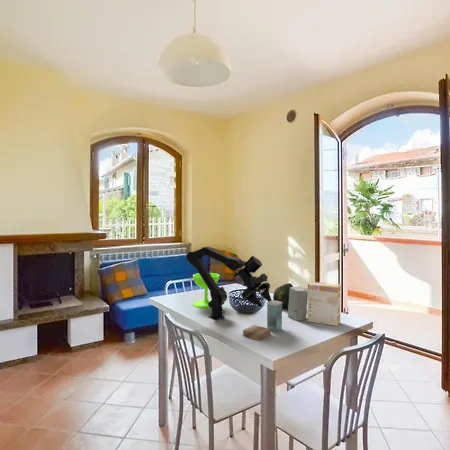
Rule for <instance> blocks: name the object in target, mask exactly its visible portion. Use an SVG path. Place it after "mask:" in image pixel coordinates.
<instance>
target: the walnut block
mask: <svg viewBox="0 0 450 450" xmlns="http://www.w3.org/2000/svg"><path fill="white" fill-rule="evenodd" d="M271 333H272V331H271V329H269V328H267V327H265V326H260V325H256V324H253V325H251V326H249V327H246V328H243V330H242V337H246V338H250V339H254V340H257V341H262V340H263V339H266V338H268V337H270V336H271V335H272V334H271Z"/></svg>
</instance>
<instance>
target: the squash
mask: <svg viewBox="0 0 450 450" xmlns="http://www.w3.org/2000/svg"><path fill="white" fill-rule="evenodd" d="M290 287H294V285H293V284H292V282H288V283H285V284H283V285H279V286H278V287H276V288H275V290H274V292H273V295H272V296H273V297H272V300H275V301H280V302H282V309H283V308H288V306H289V292H290Z"/></svg>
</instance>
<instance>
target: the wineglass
mask: <svg viewBox="0 0 450 450" xmlns="http://www.w3.org/2000/svg"><path fill="white" fill-rule="evenodd" d="M209 273H210V275H211V276H212V278H213V279H214V281H215V283H216V284H217V283H218V281H219V280H220V274H218V273H215V272H209ZM192 279H193V282H194V283H195V285H196V286H198V287H199V288H201V289H203V290H204V298H203V299H202V300H197V301H194V302H193V303H192V306H193V307H194V308H196V307H197V309H211V307H209V305H208V303H209V302H210V301H211V300H212V299H208V298H209V296H208V291H209V288H208V287H207V285H206V284H205V282H204V280H203V279H202V277H201V276H200V274H199V272H198V273H195V274H192Z"/></svg>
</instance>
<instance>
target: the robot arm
mask: <svg viewBox="0 0 450 450" xmlns="http://www.w3.org/2000/svg"><path fill="white" fill-rule="evenodd" d="M205 256H207V257H210V258H211V259H214V260H216V261H217V262H219V263H222V264H223V265H225V266H226V268H228V269H229V270H230V271H233V272H234V275H233V276H234V278H236V279H237V278H239V279H240V281H241V282H242V283H243V284H242V286H243V287H246V288H245V289H244V290H243V291H242V292H241V294H240V296H241V298H242V299H243V300H245V301H248V302H250V303H252V304H255V305H256V306H258V307H259V308H262V307H263V304H262V302H261V300H260V299H259V297H258V296H257V292H258V293H259V295H260V296H261V297H263V299H265V300H266V301H267V302H269V301H272V300H273V299H272V297H271V295H270V289H271V284H270V282H268V278H269V277H268V276H267V274H266V273H261V274H259V275H260V276H257V277H256V276H253V275H252V273H253V274H255V273H256V272H257V271H258V270H260V268H261V267H262V266H263V263H262V262H261V260H260V259H258V258H257V257H255V256H254V255H251V256H250V257H249V259H248V260H247V261H245V260H242V259H241V258H239V257H235V256H229V255H226V254H224V253H222V252H220V251H218V250H216V249H213V248H212V247H210V246H204V247H201V248H200V249H198V250H194V251H189V252H187V254H186V256H185V258H186V261H187V262H188V264H189V265H191V266H192V267H194V268H195V269H196V271H197V272H198V273H199V274H200V276H201V277H202V279H203V280H204V282H205V284H206V285H207V287H208V291H209V293H210V298H211V299H210V300H211V301H210V302H209V303H208V305H209V307H211V308H210V315H208V316H207V317H208V318H210V319H213V320H221V319H224V318H225V315H223V312H224V309H223V305H224V304H225V302H226V301H227V299H228V292H227V291H226V290H225V288H224V286H221V287H220V286H219V285H218V284H217V283H215V281H214V279H213V278H212V276H211V275H210V273H211V272H209V270H208V268H207V267H206V265H205V264H204V259H203V257H205Z"/></svg>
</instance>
